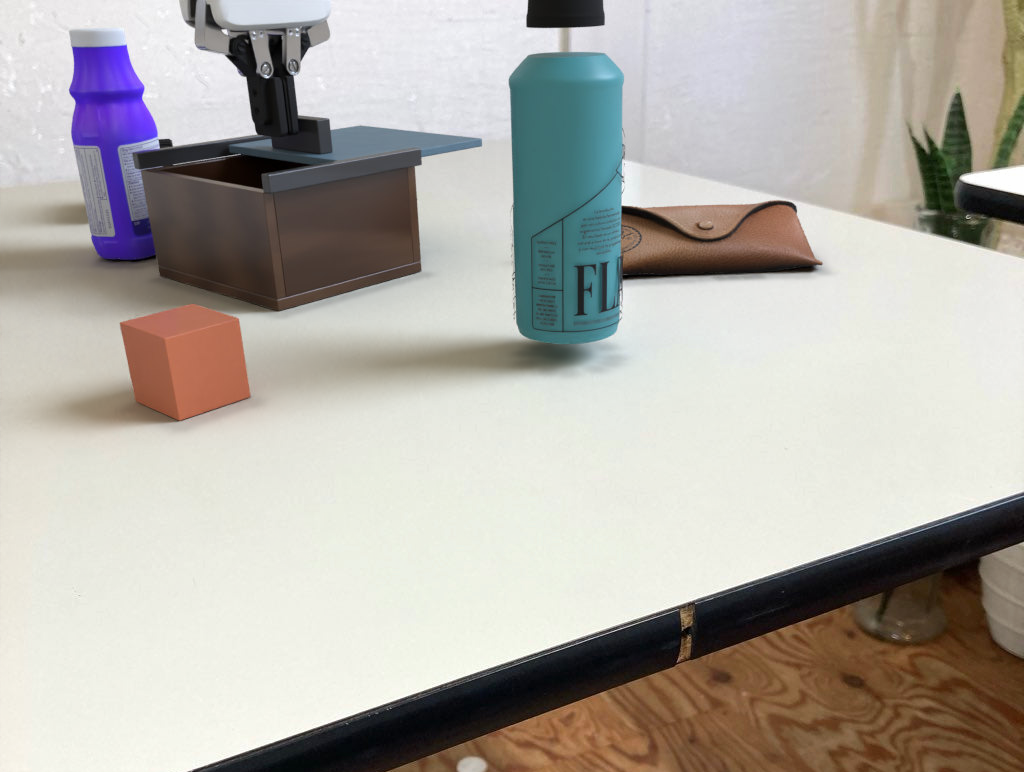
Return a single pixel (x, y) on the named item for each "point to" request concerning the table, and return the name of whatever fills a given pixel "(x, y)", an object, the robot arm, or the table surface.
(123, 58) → the bottle
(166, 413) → the block
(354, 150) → the lid
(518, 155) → the beverage bottle
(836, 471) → the table surface
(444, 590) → the table surface
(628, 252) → the sunglasses case
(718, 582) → the table surface
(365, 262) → the box
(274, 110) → the robot arm
